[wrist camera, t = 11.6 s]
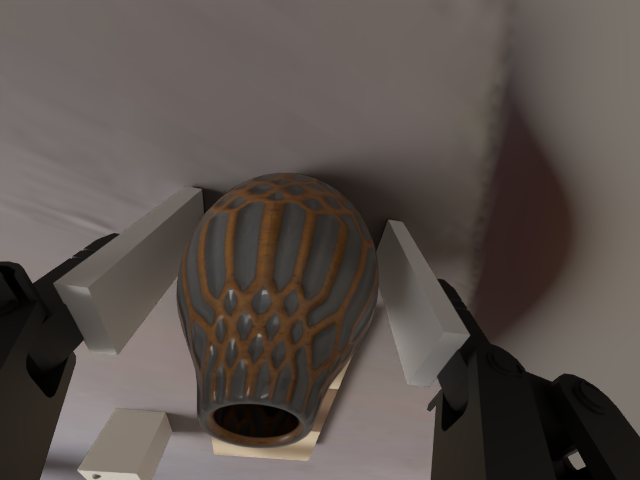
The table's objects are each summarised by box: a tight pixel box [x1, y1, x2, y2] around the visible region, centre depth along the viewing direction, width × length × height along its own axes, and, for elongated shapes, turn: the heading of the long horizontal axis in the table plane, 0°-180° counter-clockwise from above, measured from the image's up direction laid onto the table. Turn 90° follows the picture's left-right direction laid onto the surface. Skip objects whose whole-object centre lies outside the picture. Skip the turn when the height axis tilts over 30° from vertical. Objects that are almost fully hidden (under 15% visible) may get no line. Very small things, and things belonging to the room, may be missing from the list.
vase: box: [177, 173, 379, 448], centre depth 9 cm, size 7×7×9 cm
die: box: [77, 408, 172, 480], centre depth 23 cm, size 4×4×5 cm
